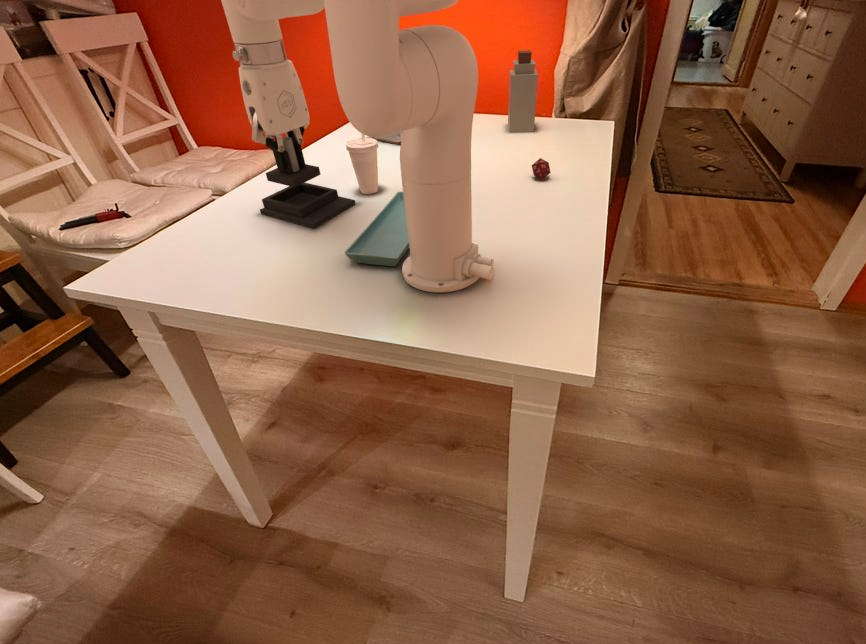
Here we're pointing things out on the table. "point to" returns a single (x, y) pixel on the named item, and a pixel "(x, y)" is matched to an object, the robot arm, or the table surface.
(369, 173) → the smoothie
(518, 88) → the perfume bottle
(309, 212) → the base pad
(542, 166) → the dice
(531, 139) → the table surface
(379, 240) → the teal serving tray
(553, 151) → the table surface
